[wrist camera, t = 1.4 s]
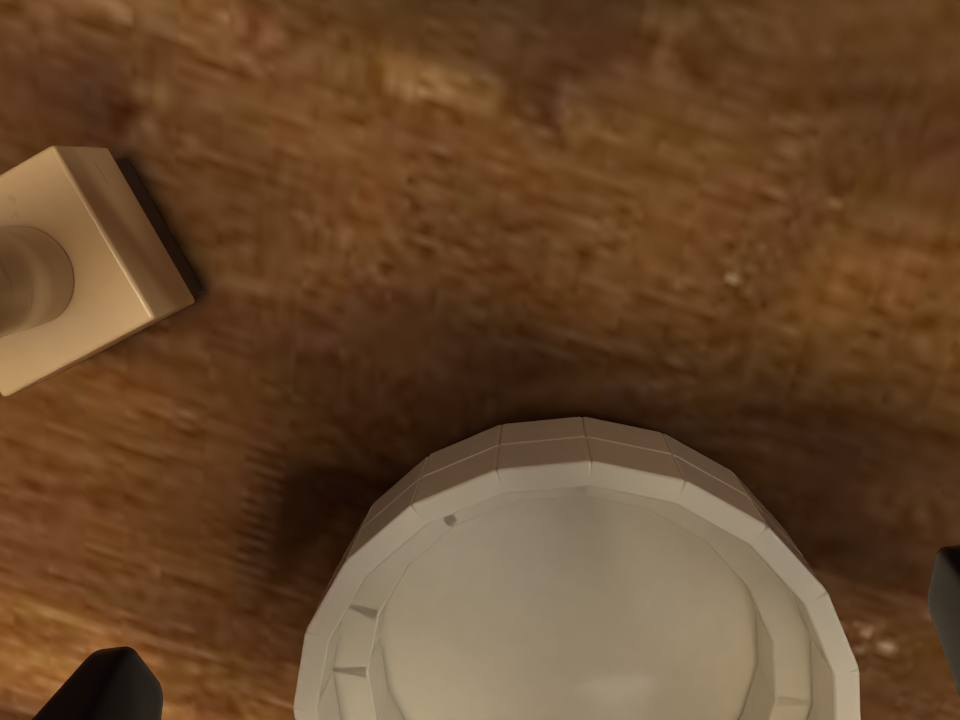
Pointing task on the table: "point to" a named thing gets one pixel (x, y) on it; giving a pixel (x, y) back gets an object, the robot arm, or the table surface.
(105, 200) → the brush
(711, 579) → the bowl
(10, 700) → the table surface
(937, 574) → the robot arm
